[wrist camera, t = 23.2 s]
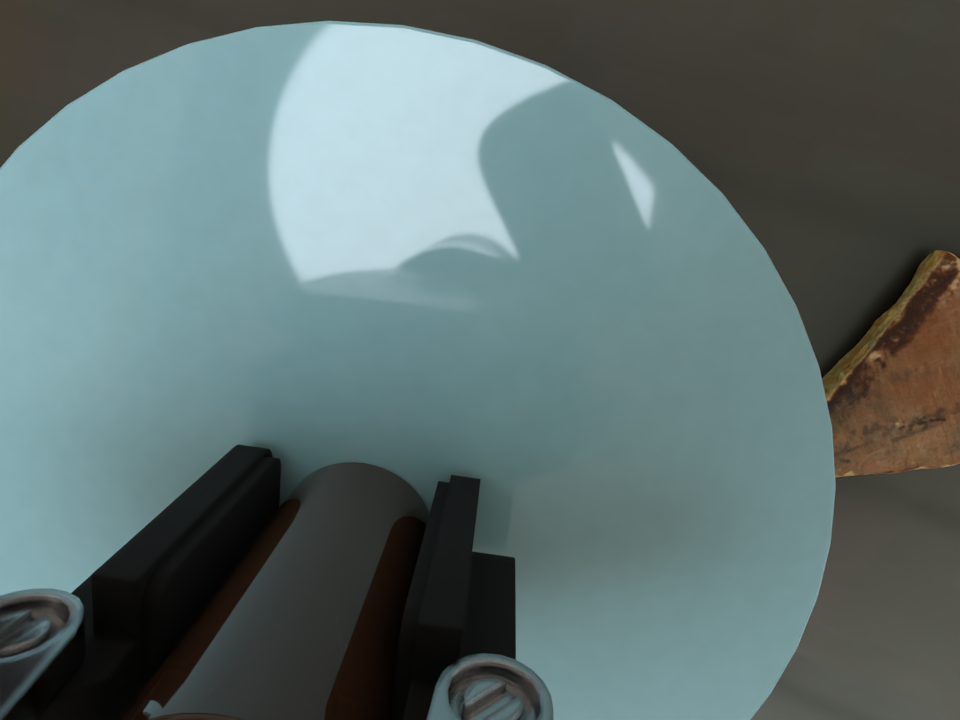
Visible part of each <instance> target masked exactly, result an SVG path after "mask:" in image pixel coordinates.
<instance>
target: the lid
mask: <svg viewBox="0 0 960 720" xmlns="http://www.w3.org/2000/svg"><path fill="white" fill-rule="evenodd" d="M238 444H239V445H246V446H253V447H260V448H267V449H270V450H271V452H272V457H274V458H279V459H280V461H281V480H280V501H279V509H278V510H277V511H276V513H275V514H274V515H273V516H272V518H271V519H270V520H269V522H268V523H267V524H266V526H265V527H264V528H263V530H262V531H261V532H260V534H259V535H258V536H257V538H256V539H255V540H254V542H253V543H252V544H251V546H250V547H249V548H248V550H247V551H246V552H245V554H244V555H243V556H242V558H241V559H240V560H239V562H238V563H237V564H236V566H235V567H234V568H233V570H232V571H231V572H230V574H229V575H228V576H227V578H226V579H225V580H224V582H223V583H222V584H221V586H220V587H219V588H218V589H217V591H216V592H215V593H214V595H213V596H212V597H211V599H210V600H209V601H208V603H207V604H206V605H205V607H204V608H203V609H202V611H201V612H200V613H199V615H198V616H197V617H196V619H195V620H194V621H193V623H192V624H191V625H190V627H189V628H188V629H187V631H186V632H185V633H184V635H183V636H182V637H181V639H180V640H179V641H178V643H177V644H176V645H175V647H174V648H173V649H172V651H171V652H170V653H169V655H168V656H167V657H166V659H165V660H164V661H163V662H162V664H161V665H160V666H159V668H158V669H157V670H156V672H155V673H154V674H153V676H152V677H151V678H150V680H149V681H148V682H147V684H146V685H145V686H144V688H143V689H142V690H141V692H140V693H139V694H138V696H137V697H136V698H135V700H134V701H133V702H132V704H131V705H130V706H129V708H128V709H127V710H126V712H125V713H124V714H123V716H122V717H121V718H120V720H392V709H391V705H392V696H393V687H394V678H395V669H396V660H397V651H398V643H399V635H400V629H401V623H402V618H403V613H404V609H405V604H406V601H407V597H408V593H409V589H410V586H411V582H412V578H413V574H414V570H415V567H416V563H417V559H418V555H419V552H420V548H421V544H422V540H423V537H424V533H425V529H426V525H427V522H428V518H429V514H430V510H431V506H432V503H433V499H434V495H435V491H436V488H437V484H438V481H442V482H450V478H451V475H456V476H463V477H470V478H477V479H481V481H480V489H479V498H478V506H477V515H476V524H475V532H474V541H473V549H472V551H474V552H480V553H487V554H494V555H501V556H508V557H514V558H515V586H516V660H517V661H519V662H521V663H522V664H524V665H526V666H527V667H529V668H531V669H532V670H533V671H534V672H535V673H536V674H537V675H538V676H539V677H540V678H541V679H542V680H543V681H544V683H545V685H546V687H547V688H548V690H549V692H550V694H551V697H552V704H553V710H554V713H553V720H750V719H751V718H752V717H753V716H754V714H755V713H756V712H757V710H758V709H759V708H760V707H761V705H762V704H763V703H764V701H765V700H766V699H767V698H768V696H769V695H770V694H771V692H772V690H773V689H774V687H775V685H776V684H777V682H778V680H779V678H780V677H781V675H782V673H783V671H784V670H785V668H786V666H787V665H788V663H789V661H790V659H791V658H792V656H793V654H794V652H795V651H796V649H797V647H798V645H799V642H800V640H801V637H802V635H803V632H804V630H805V627H806V625H807V622H808V620H809V617H810V615H811V612H812V610H813V608H814V605H815V603H816V600H817V598H818V593H819V589H820V585H821V581H822V577H823V573H824V569H825V565H826V561H827V556H828V552H829V548H830V544H831V533H832V522H833V511H834V500H835V489H836V483H835V467H834V450H833V433H832V424H831V419H830V415H829V410H828V405H827V401H826V396H825V391H824V386H823V382H822V377H821V372H820V368H819V364H818V362H817V359H816V356H815V354H814V351H813V348H812V346H811V343H810V340H809V338H808V335H807V332H806V330H805V327H804V324H803V322H802V319H801V316H800V314H799V311H798V308H797V306H796V304H795V302H794V300H793V299H792V297H791V295H790V293H789V291H788V290H787V288H786V286H785V284H784V282H783V281H782V279H781V277H780V275H779V273H778V272H777V270H776V268H775V266H774V264H773V262H772V261H771V259H770V257H769V255H768V253H767V252H766V250H765V248H764V247H763V245H762V244H761V243H760V241H759V240H758V239H757V238H756V236H755V235H754V234H753V232H752V231H751V230H750V228H749V227H748V226H747V224H746V223H745V222H744V221H743V219H742V218H741V217H740V215H739V214H738V213H737V211H736V210H735V209H734V207H733V206H732V205H731V204H730V202H729V201H728V200H727V198H726V197H725V196H724V194H723V193H722V192H721V191H720V190H719V189H718V188H717V187H716V186H715V185H714V184H713V183H712V182H711V181H710V180H709V179H708V178H707V177H706V176H705V175H704V174H703V173H702V172H700V171H699V170H698V169H697V168H696V167H695V166H694V165H693V164H692V163H691V162H690V161H689V160H688V159H687V158H686V157H685V156H684V155H683V154H682V153H681V152H680V151H679V150H678V149H677V148H676V147H675V146H674V145H673V144H672V143H671V142H669V141H668V140H666V139H665V138H664V137H662V136H661V135H660V134H658V133H657V132H656V131H654V130H653V129H651V128H650V127H649V126H647V125H646V124H645V123H643V122H642V121H640V120H639V119H638V118H636V117H635V116H634V115H632V114H631V113H629V112H628V111H627V110H625V109H624V108H623V107H621V106H620V105H619V104H617V103H616V102H614V101H613V100H611V99H610V98H608V97H606V96H604V95H602V94H600V93H598V92H596V91H594V90H593V89H591V88H589V87H587V86H585V85H583V84H581V83H579V82H578V81H576V80H574V79H572V78H570V77H568V76H566V75H564V74H562V73H561V72H559V71H557V70H555V69H553V68H551V67H549V66H547V65H545V64H542V63H539V62H537V61H534V60H531V59H528V58H525V57H523V56H520V55H517V54H514V53H512V52H509V51H506V50H503V49H501V48H498V47H495V46H492V45H489V44H487V43H484V42H481V41H478V40H475V39H470V38H465V37H460V36H455V35H451V34H446V33H441V32H436V31H431V30H426V29H421V28H417V27H412V26H407V25H399V24H382V23H364V22H347V21H330V20H329V21H318V22H307V23H295V24H284V25H273V26H262V27H255V28H251V29H246V30H242V31H238V32H234V33H230V34H226V35H222V36H218V37H214V38H210V39H206V40H202V41H197V42H193V43H189V44H186V45H184V46H181V47H179V48H177V49H174V50H172V51H169V52H167V53H165V54H162V55H160V56H157V57H155V58H153V59H150V60H148V61H145V62H143V63H141V64H138V65H136V66H133V67H131V68H129V69H126V70H124V71H122V72H121V73H119V74H117V75H116V76H114V77H112V78H111V79H109V80H107V81H106V82H104V83H103V84H101V85H99V86H98V87H96V88H94V89H93V90H91V91H90V92H88V93H86V94H85V95H83V96H81V97H80V98H78V99H77V100H75V101H73V102H72V103H70V104H68V105H67V106H66V107H64V108H63V109H62V110H61V111H60V112H59V113H57V114H56V115H55V116H54V117H53V118H52V119H50V120H49V121H48V122H47V123H46V124H45V125H43V126H42V127H41V128H40V129H39V130H38V131H36V132H35V133H34V134H33V135H32V136H31V137H29V138H28V139H27V140H26V141H25V142H24V143H22V144H21V145H20V146H19V147H18V148H17V149H16V150H15V151H14V153H13V154H12V155H11V156H10V157H9V158H8V160H7V161H6V162H5V163H4V164H3V166H2V167H1V168H0V596H1V595H4V594H8V593H11V592H16V591H22V590H28V589H48V588H52V589H57V590H62V591H67V592H69V593H72V592H73V591H74V590H75V589H76V588H77V587H78V586H80V585H81V584H82V583H83V582H84V581H85V580H86V579H87V578H88V577H90V576H91V574H93V573H94V572H95V571H96V570H97V569H98V568H99V567H100V566H102V565H103V564H104V563H105V562H106V561H107V560H108V559H109V558H110V557H112V556H113V555H114V554H115V553H116V552H117V551H118V550H119V549H121V548H122V547H123V546H124V545H125V544H126V543H127V542H128V541H129V540H131V539H132V538H133V537H134V536H135V535H136V534H137V533H138V532H140V531H141V530H142V529H143V528H144V527H145V526H146V525H147V524H148V523H150V522H151V521H152V520H153V519H154V518H155V517H156V516H157V515H159V514H160V513H161V512H162V511H163V510H164V509H165V508H166V507H167V506H169V505H170V504H171V503H172V502H173V501H174V500H175V499H176V498H178V497H179V496H180V495H181V494H182V493H183V492H184V491H185V490H186V489H188V488H189V487H190V486H191V485H192V484H193V483H194V482H195V481H197V480H198V479H199V478H200V477H201V476H202V475H203V474H204V473H205V472H207V471H208V470H209V469H210V468H211V467H212V466H213V465H214V464H216V463H217V462H218V461H219V460H220V459H221V458H222V457H223V456H224V455H226V454H227V453H228V452H229V451H230V450H231V449H232V448H233V447H235V446H236V445H238Z"/></svg>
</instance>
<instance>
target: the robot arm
mask: <svg viewBox="0 0 960 720" xmlns="http://www.w3.org/2000/svg"><path fill="white" fill-rule="evenodd" d="M280 480H281V461H280V459H279V458H274V457H272V452H271V450H270V449H267V448H260V447H253V446H246V445H239V444H238V445H236V446H235V447H233V448H232V449H231V450H230V451H229V452H228V453H227V454H226V455H224V456H223V457H222V458H221V459H220V460H219V461H218V462H217V463H216V464H214V465H213V466H212V467H211V468H210V469H209V470H208V471H207V472H205V473H204V474H203V475H202V476H201V477H200V478H199V479H198V480H197V481H195V482H194V483H193V484H192V485H191V486H190V487H189V488H188V489H186V490H185V491H184V492H183V493H182V494H181V495H180V496H179V497H178V498H176V499H175V500H174V501H173V502H172V503H171V504H170V505H169V506H167V507H166V508H165V509H164V510H163V511H162V512H161V513H160V514H159V515H157V516H156V517H155V518H154V519H153V520H152V521H151V522H150V523H148V524H147V525H146V526H145V527H144V528H143V529H142V530H141V531H140V532H138V533H137V534H136V535H135V536H134V537H133V538H132V539H131V540H129V541H128V542H127V543H126V544H125V545H124V546H123V547H122V548H121V549H119V550H118V551H117V552H116V553H115V554H114V555H113V556H112V557H110V558H109V559H108V560H107V561H106V562H105V563H104V564H103V565H102V566H100V567H99V568H98V569H97V570H96V571H95V572H94V573H93V574H91V576H90V577H88V578H87V579H86V580H85V581H84V582H83V583H82V584H81V585H80V586H78V587H77V588H76V589H75V590H74V591H73V592H72V593H69V592H67V591H62V590H57V589H52V588H48V589H28V590H22V591H16V592H11V593H8V594H4V595H1V596H0V720H120V718H121V717H122V716H123V714H124V713H125V712H126V710H127V709H128V708H129V706H130V705H131V704H132V702H133V701H134V700H135V698H136V697H137V696H138V694H139V693H140V692H141V690H142V689H143V688H144V686H145V685H146V684H147V682H148V681H149V680H150V678H151V677H152V676H153V674H154V673H155V672H156V670H157V669H158V668H159V666H160V665H161V664H162V662H163V661H164V660H165V659H166V657H167V656H168V655H169V653H170V652H171V651H172V649H173V648H174V647H175V645H176V644H177V643H178V641H179V640H180V639H181V637H182V636H183V635H184V633H185V632H186V631H187V629H188V628H189V627H190V625H191V624H192V623H193V621H194V620H195V619H196V617H197V616H198V615H199V613H200V612H201V611H202V609H203V608H204V607H205V605H206V604H207V603H208V601H209V600H210V599H211V597H212V596H213V595H214V593H215V592H216V591H217V589H218V588H219V587H220V586H221V584H222V583H223V582H224V580H225V579H226V578H227V576H228V575H229V574H230V572H231V571H232V570H233V568H234V567H235V566H236V564H237V563H238V562H239V560H240V559H241V558H242V556H243V555H244V554H245V552H246V551H247V550H248V548H249V547H250V546H251V544H252V543H253V542H254V540H255V539H256V538H257V536H258V535H259V534H260V532H261V531H262V530H263V528H264V527H265V526H266V524H267V523H268V522H269V520H270V519H271V518H272V516H273V515H274V514H275V513H276V511H277V510H278V509H279V501H280ZM480 481H481V479H477V478H470V477H463V476H456V475H451V478H450V482H442V481H438V484H437V488H436V491H435V495H434V499H433V503H432V506H431V510H430V514H429V518H428V522H427V525H426V529H425V533H424V537H423V540H422V544H421V548H420V552H419V555H418V559H417V563H416V567H415V570H414V574H413V578H412V582H411V586H410V589H409V593H408V597H407V601H406V604H405V609H404V613H403V618H402V623H401V629H400V635H399V643H398V651H397V660H396V669H395V678H394V687H393V696H392V705H391V709H392V720H553V713H554V710H553V704H552V697H551V694H550V692H549V690H548V688H547V687H546V685H545V683H544V681H543V680H542V679H541V678H540V677H539V676H538V675H537V674H536V673H535V672H534V671H533V670H532V669H531V668H529V667H527V666H526V665H524V664H522V663H521V662H519V661H517V660H516V586H515V558H514V557H508V556H501V555H494V554H487V553H480V552H474V551H472V549H473V541H474V532H475V524H476V515H477V506H478V498H479V489H480Z"/></svg>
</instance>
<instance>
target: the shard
mask: <svg viewBox="0 0 960 720" xmlns="http://www.w3.org/2000/svg"><path fill="white" fill-rule="evenodd" d="M822 382H823V386H824V391H825V396H826V401H827V405H828V410H829V415H830V419H831V424H832V433H833V450H834V467H835V478H836V477H842V476H851V475H866V474H885V473H889V474H891V473H897V472H904V471H909V470H916V469H921V468H928V469H932V468H940V467H947V466H953V465H956V464H959V463H960V259H959V258H958V257H956V256H955V255H954V254H952V253H950V252H948V251H942V250H935V251H934V252H932V253H930V254H929V255H928V256H927V257H926V258H925V259H924V260H923V261H922V262H921V263H920V265H919V267H918V268H917V271H916V273H915V275H914V276H913V279H912V281H911V282H910V284H909V286H908V287H907V288H906V290H905V291H904V293H903V294H902V296H901V297H900V298H899V300H898V301H897V303H895V304H894V305H893V306H892V307H891V308H890V309H889V310H887V311H886V312H885V313H883V314H882V316H881V317H879V318H878V319H877V320H876V321H875V322H874V323H873V325H872V327H871V328H870V329H869V331H868V332H867V333H866V334H865V335H864V337H863V338H862V339H861V340H860V342H859V343H858V344H857V345H856V346H855V347H854V348H853V349H852V350H851V351H849V352H848V353H847V354H846V355H845V356H844V357H843V358H842V359H840V360H839V361H838V362H837V364H836V365H835V366H834V367H833V368H832V369H831V370H830V371H829V372H828V373H827V374H826V375H825V376H824V377H823V378H822Z"/></svg>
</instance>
